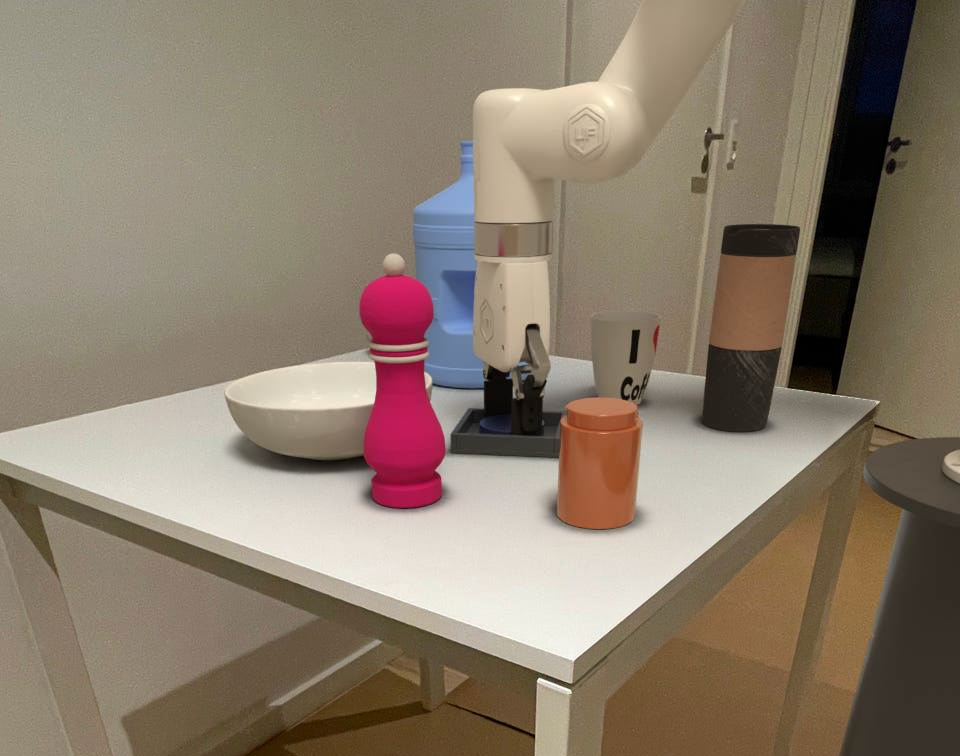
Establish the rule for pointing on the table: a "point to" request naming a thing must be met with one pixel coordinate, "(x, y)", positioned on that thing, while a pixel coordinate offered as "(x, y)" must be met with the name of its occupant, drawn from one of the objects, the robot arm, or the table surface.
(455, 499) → the table surface
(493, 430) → the jar lid
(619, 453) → the jar
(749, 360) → the travel mug
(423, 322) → the pepper mill
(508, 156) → the robot arm
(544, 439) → the tray
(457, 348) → the water jug
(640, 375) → the cup
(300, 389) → the serving bowl
